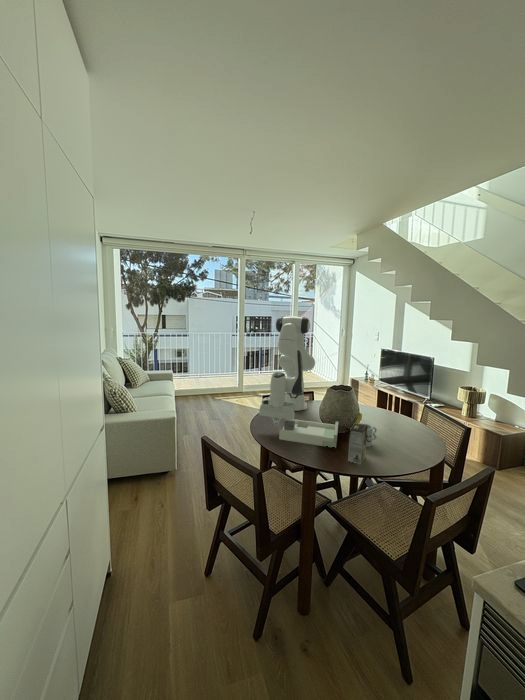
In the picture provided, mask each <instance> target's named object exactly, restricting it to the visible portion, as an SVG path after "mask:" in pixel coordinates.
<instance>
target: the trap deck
mask: <svg viewBox="0 0 525 700" xmlns="http://www.w3.org/2000/svg"><path fill="white" fill-rule="evenodd" d="M286 420H290V419H286ZM292 420H294V421H295V427H294V429H293V430H286V429H284V426H283V427H282V429H279V433H278V435H279V436H278V437H279V438H278V439H279V440H281V441H288V442H295V443H300V444H307V445H314V446H321V447H326V446H328V447H327V448H332V447H335V448H334V449H337V442H338V434H339V433H338V431H339V421H335V424H333V423H332V424H331V423H325V422H317V421H310V420H303V419H302V420H301V419H295V418H294V419H292Z"/></svg>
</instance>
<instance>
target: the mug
mask: <svg viewBox="0 0 525 700" xmlns="http://www.w3.org/2000/svg"><path fill="white" fill-rule="evenodd" d="M359 424H360V425H365V426H368V427H367V439H366V448H370V447H372V445H373V441H375V440H376V439H377V434H376V433H377V431H378V429H377V428H376V427H375V426H372V425H371V424H368V423H363V422H362V423H361V422H360V423H359Z"/></svg>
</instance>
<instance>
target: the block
mask: <svg viewBox="0 0 525 700" xmlns="http://www.w3.org/2000/svg"><path fill="white" fill-rule="evenodd" d="M283 427H284V429H286V430H293V429H294V427H295V421H294V420H287V419H285V421H284V426H283Z"/></svg>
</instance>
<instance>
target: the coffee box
mask: <svg viewBox="0 0 525 700" xmlns="http://www.w3.org/2000/svg"><path fill="white" fill-rule="evenodd" d="M367 427H368V426H365V425H360V424H354V425H353V426H352V428H351V429H350V430H349V439H348V456H347V462H349V461H350V463H352V462H353V463H354V464H356V463H357V464H356V465H362V464H363V462H364V460H365V458H366V449H367V447H366V439H367Z"/></svg>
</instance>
